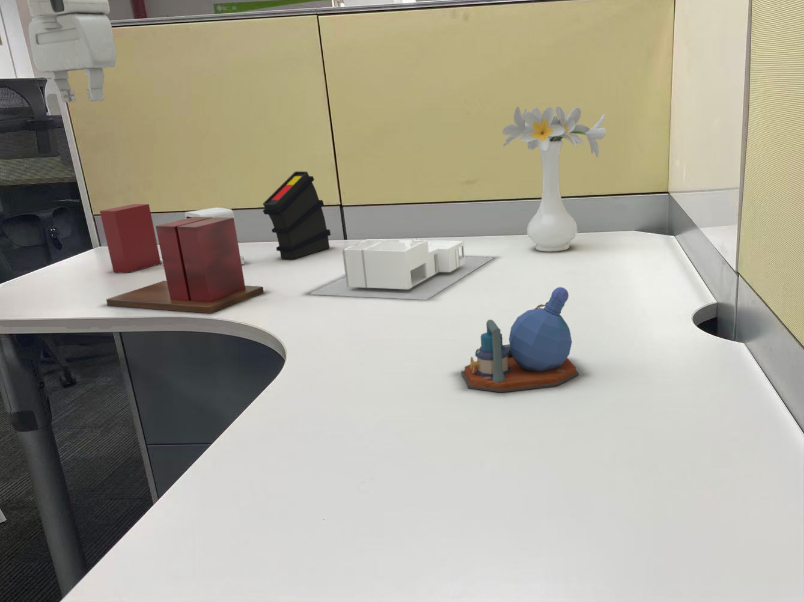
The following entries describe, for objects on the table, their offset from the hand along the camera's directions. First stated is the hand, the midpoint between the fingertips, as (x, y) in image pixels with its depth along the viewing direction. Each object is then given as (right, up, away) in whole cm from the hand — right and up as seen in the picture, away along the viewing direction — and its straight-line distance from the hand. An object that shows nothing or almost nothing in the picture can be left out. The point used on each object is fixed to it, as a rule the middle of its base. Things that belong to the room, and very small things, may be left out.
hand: (82, 101), depth 126 cm
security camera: (+14, -23, +21) cm, 34 cm away
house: (+50, -27, +7) cm, 57 cm away
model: (+68, -44, -40) cm, 90 cm away
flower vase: (+75, -19, +22) cm, 81 cm away
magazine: (+28, -20, +27) cm, 43 cm away
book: (-2, -23, +22) cm, 32 cm away
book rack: (+17, -31, -2) cm, 36 cm away
